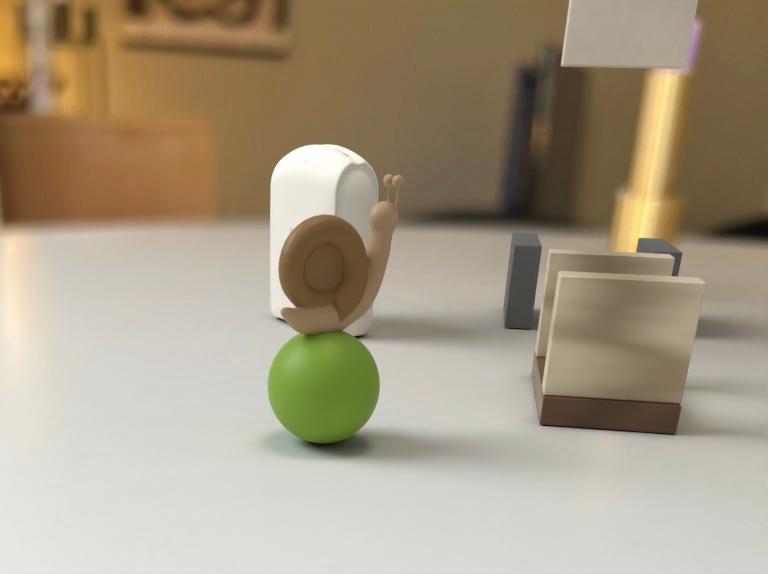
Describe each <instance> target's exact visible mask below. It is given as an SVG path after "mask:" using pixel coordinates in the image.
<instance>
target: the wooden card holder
mask: <svg viewBox="0 0 768 574" xmlns="http://www.w3.org/2000/svg"><path fill="white" fill-rule="evenodd" d="M674 260H675V258H674V257H673V256H671V255H670V254H655V253H636V252H633V251H632V252H629V251H611V250H610V251H608V250H586V249H585V250H584V249H563V248H549V249H548V253H547V260H546V265H545V266H546V267H545V274H544V280H543V287H542V296H541V302H540V310H539V311H540V312H539V317H538V325H537V331H536V340H535V347H534V351H533V360H532V366H531V379H532V385H533V391H534V392H533V393H534V398H535V403H536V410H537V417H538V423H539V425H542V426H555V427H570V428H582V429H584V428H585V429H598V430H600V429H601V430H611V431H624V432H625V431H627V432H638V433H639V432H640V433H641V432H642V433H655V434H670V435H676V434H677V432H678V431H677V430H678V427H679V421H680V417H681V412H682V407H683V406H682V404H681V403H682V401H683V397H684V392H685V387H686V383H687V378H688V372H689V368H690V363H691V358H692V353H693V348H694V344H695V339H696V335H697V330H698V325H699V322H700V321H699V320H700V316H701V311H702V307H703V306H702V305H703V301H704V297H705V292H706V288H707V282H706V281H704V280H703V279H702V278H701V277H697V276H695V277H694V276H692V277H691V276H678V277H675V276H672V271H673V266H674Z"/></svg>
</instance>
